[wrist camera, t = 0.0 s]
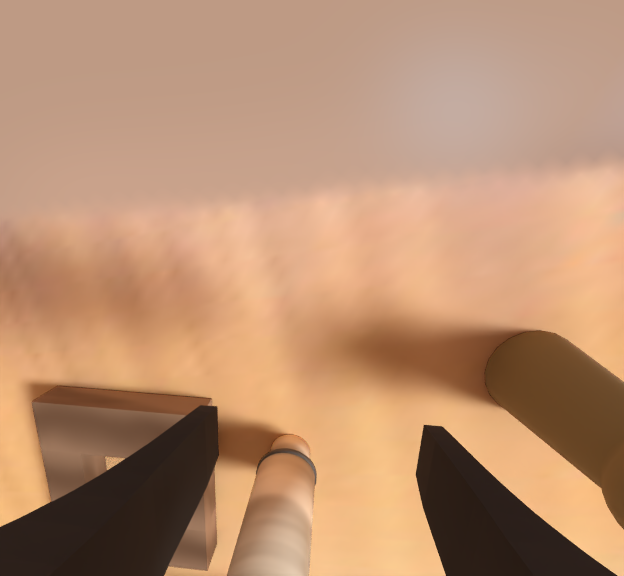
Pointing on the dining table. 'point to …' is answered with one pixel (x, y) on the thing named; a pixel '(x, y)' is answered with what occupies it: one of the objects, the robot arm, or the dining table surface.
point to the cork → (565, 405)
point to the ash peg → (278, 514)
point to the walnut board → (117, 448)
